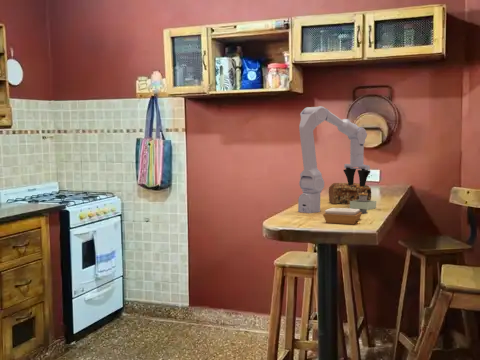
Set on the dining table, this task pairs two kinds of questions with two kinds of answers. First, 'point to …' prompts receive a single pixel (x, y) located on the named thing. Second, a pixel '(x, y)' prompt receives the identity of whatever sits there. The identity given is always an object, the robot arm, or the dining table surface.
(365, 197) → the jar with copper lid
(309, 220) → the dining table surface
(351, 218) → the soap dish
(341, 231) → the dining table surface
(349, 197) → the bread
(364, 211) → the mount
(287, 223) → the dining table surface
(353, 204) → the bin
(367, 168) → the robot arm
